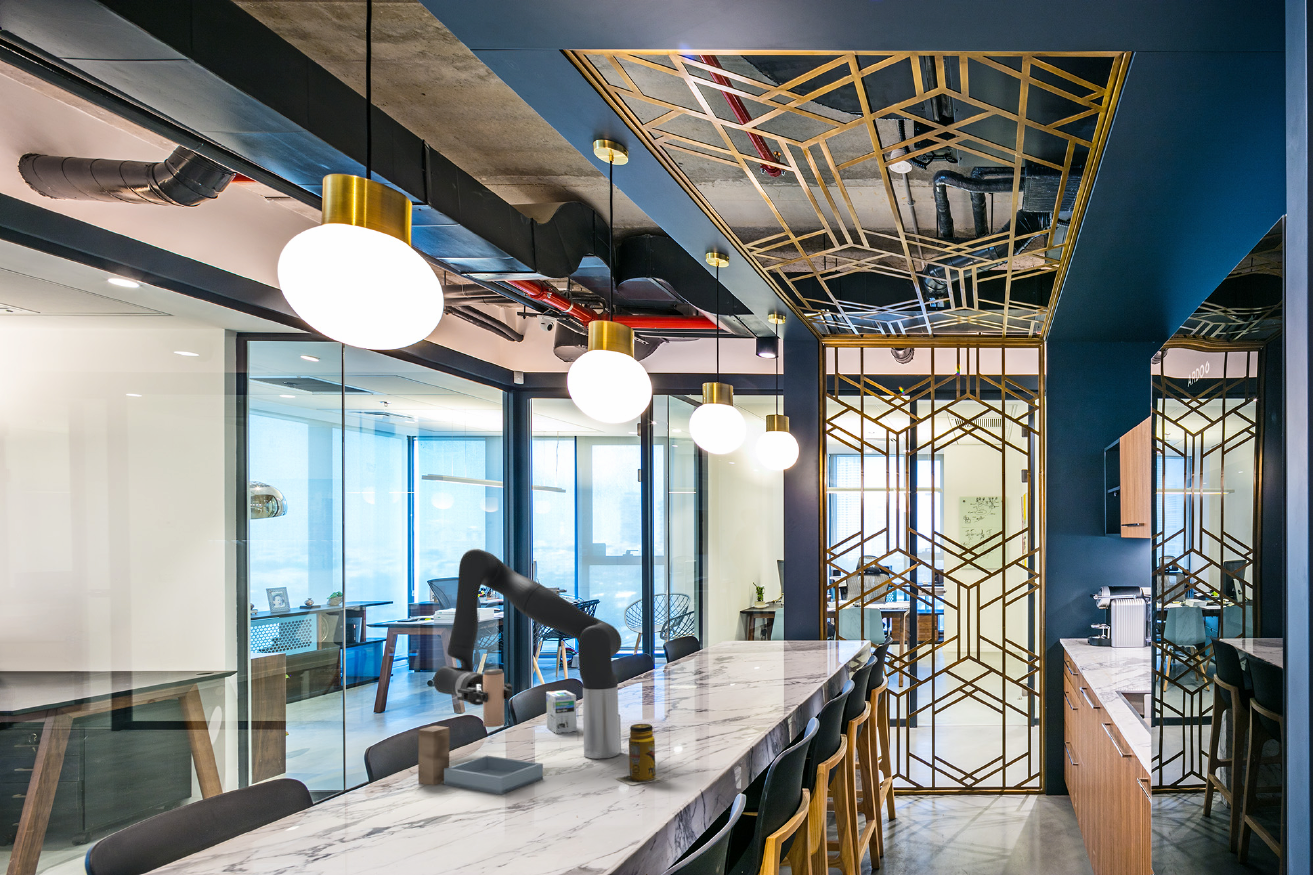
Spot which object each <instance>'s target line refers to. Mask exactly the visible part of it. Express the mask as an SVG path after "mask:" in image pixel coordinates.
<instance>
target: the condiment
mask: <svg viewBox="0 0 1313 875" xmlns="http://www.w3.org/2000/svg"><path fill="white" fill-rule="evenodd" d="M629 730H630V731H629V737H628V756H629V757H628V760H629V762H628V763H629V764H628V766H629V768H628V769H629V775H625V776H619V777H615V779H616V780H618V781H620V782H622V783H624V784H627V785H629V786H635V785H636V786H637V785H641V784H645V783H646V784H647V783H652V782H657V781H661V780H663V778H662V777H658V776H656V753H655V751H656V750H655V745H656V744H655V737H654V736H653V734H654V732H653V725H652V724H649V723H636V724H634V723H633V724H632V725H630V728H629Z"/></svg>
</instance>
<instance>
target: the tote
mask: <svg viewBox="0 0 1313 875" xmlns="http://www.w3.org/2000/svg"><path fill="white" fill-rule="evenodd" d="M543 765H544V764H543V763H541V762H535V761H527V760H520V759H519V760H518V759H513V758H507V757H506V758H505V757H501V756H500V757H499V756H492V755H484V756H482V757H478V758H475V759H472V760H469V761H465V762H462V763H459V764H458V763H457V764H456V765H453V766H452V765H451V766H449V767H448V768H445V769H444V782H443V785H445V786H449V787H450V786H451V787H455V786H456V787H455V788H461V789H466V788H467V789H466V790H471V791H473V790H474V791H477V790H478V791H477V792H483V793H484V792H485V793H489V794H494V795H495V794H496V795H503V794H507V793H510V792H513V791H516V790H518V789H520V788H524V787H526V786H528V784H529V785H531V784H534V783H537V782H539V781H541V780H544V766H543Z"/></svg>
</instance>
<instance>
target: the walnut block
mask: <svg viewBox="0 0 1313 875" xmlns="http://www.w3.org/2000/svg"><path fill="white" fill-rule="evenodd" d="M417 757H418V759H417V760H418V763H417V764H418V769H417V770H418V771H417V772H418V776H417V777H418V779H417V780H418V781H417V782H419V784H424V785H429V784H430V786H435V784H436V785H439V784H441V782H442V783H444V769H445V768H448V767H450V727H447V726H442V725H441V726H440V725H432V726H428V727H424V728H420V729H418V756H417Z"/></svg>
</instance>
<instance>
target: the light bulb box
mask: <svg viewBox="0 0 1313 875" xmlns="http://www.w3.org/2000/svg"><path fill="white" fill-rule="evenodd" d="M545 694H546V696H545V697H546V728H547V729H548V728H549V729H548V730H550V731H552V733H554V732H555V733H558V734H562V733H561V732H568V733H573V732H572V731H577V730H578V727H577V695H576V694H575V693H573V692H571V691H568V690H566V689H564V690H554V691H553V690H552V691H551V690H550V691H546V693H545ZM577 732H578V731H577ZM555 733H554V734H555Z"/></svg>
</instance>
